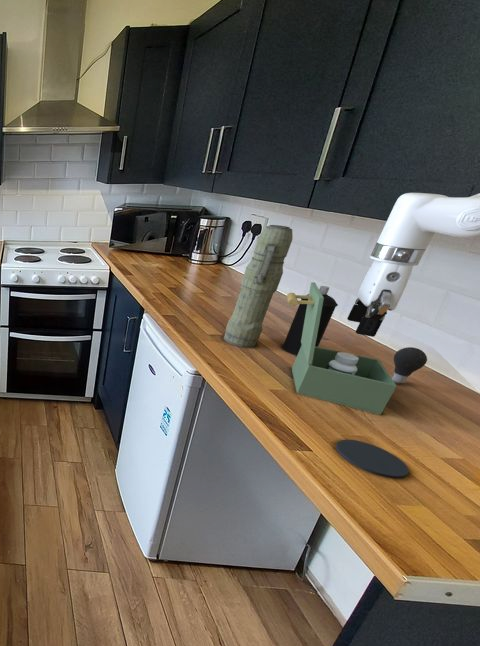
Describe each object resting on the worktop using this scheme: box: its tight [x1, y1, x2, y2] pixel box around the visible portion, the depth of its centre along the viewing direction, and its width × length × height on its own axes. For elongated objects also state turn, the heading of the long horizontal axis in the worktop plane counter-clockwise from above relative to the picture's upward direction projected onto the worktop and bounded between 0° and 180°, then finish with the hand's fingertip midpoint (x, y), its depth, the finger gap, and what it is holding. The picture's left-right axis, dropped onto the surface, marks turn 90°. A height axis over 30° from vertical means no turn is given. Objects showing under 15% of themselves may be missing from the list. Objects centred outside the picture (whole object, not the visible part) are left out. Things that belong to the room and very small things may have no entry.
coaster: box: [335, 439, 409, 479], centre depth 75 cm, size 10×10×1 cm
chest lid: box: [286, 282, 324, 364], centre depth 98 cm, size 16×15×6 cm
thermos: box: [223, 224, 294, 349], centre depth 117 cm, size 9×12×35 cm
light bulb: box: [391, 346, 428, 385], centre depth 101 cm, size 6×6×10 cm
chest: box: [291, 345, 397, 416], centre depth 97 cm, size 15×15×8 cm
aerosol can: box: [281, 285, 339, 356], centre depth 115 cm, size 8×8×20 cm
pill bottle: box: [326, 351, 359, 375], centre depth 97 cm, size 5×5×9 cm
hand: (359, 327), depth 92 cm, fingers open, 9 cm apart
